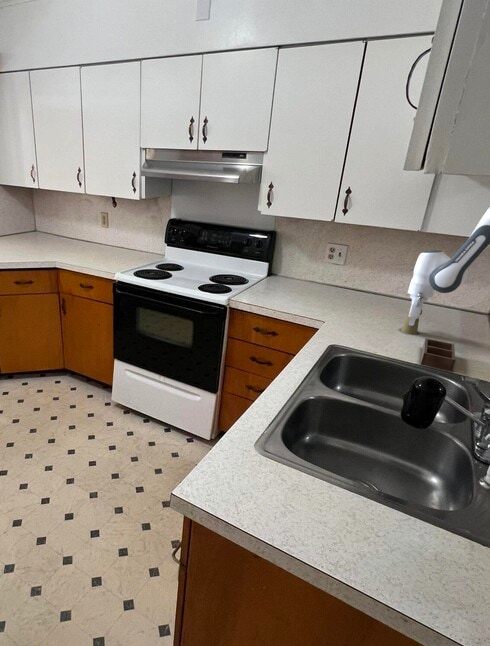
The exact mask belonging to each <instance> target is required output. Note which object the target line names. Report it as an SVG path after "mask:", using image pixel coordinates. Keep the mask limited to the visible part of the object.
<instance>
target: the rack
mask: <svg viewBox="0 0 490 646" xmlns="http://www.w3.org/2000/svg"><path fill="white" fill-rule="evenodd" d="M455 363H456V350H455V344H454V343H451V342H447V341H442V340H441V341H440V340H436V339H431V338H424V342H423V345H422V348H421V357H420V366H425V367H429V368H433V369H437V370H442V371H446V372H450V373H452V372H453V369H454V366H455Z"/></svg>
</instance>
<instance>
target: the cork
mask: <svg viewBox="0 0 490 646" xmlns="http://www.w3.org/2000/svg"><path fill="white" fill-rule="evenodd" d="M410 309H411V306H409V307H408V309H407V315H406V318H405V320H404V323H403V325H402V327H401V329H400V331H401V332H402V333H404V334H408V335H418V331H419V322H420V317H419V318H418V319H416V320H415V323H414V325H413V326H411V325H409V322H410V317H409V312H410ZM422 314H423V309H422V310H421V313H420V316H421V315H422Z"/></svg>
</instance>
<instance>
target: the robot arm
mask: <svg viewBox="0 0 490 646" xmlns="http://www.w3.org/2000/svg"><path fill="white" fill-rule="evenodd" d="M488 248H490V206H489V207H488V208H487V210H486V211H485V213H484V214H483V215H482V216H481V218H480V220H479V221H478V223H477V224H476V226H475V228H474V229H473V231H472V233H471V234H470V235H469V237H468V239H467V240H466V241H465V242H464V243H463V244H462V246H461V247H459V249H457V250H456V252H455V253H454V254H453V255H452V257H449V256H448V255H447V254H446V253H445V252H444V251H443V250H438V249H431V250H430V249H429V250H425V251H422V252H421V253H420V254H419V255H418V257H417V259H416V262H415V265H414V267H413V275H412V278H410V279H411V280H410V283H409V286H408V290H407V294H408V295H409V298H410V299H411V305H410V307H411V309H410V312H409V317H410V322H409V325H411V326H413V325H414V323H415V320H416V319H418V318H419V319H420V317H421V315H420V313H421V310H422V311H423V306H424V302H427V301H428V299H430V298H433V296H434V292H435V291H436V292H438V293H440V294H449V293H452V292H454V291H456V290H457V289H458V288H459V287H461V286H462V285H463V284H465V283H466V282H467V281H468V279H469V277H470V270H469V267H470V266H471V265H472V264H473V263H474V262H475V261H476V260H477V259H478V258H479V257H480V256H481V254H482V253H484V251H486V250H487V249H488Z"/></svg>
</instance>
